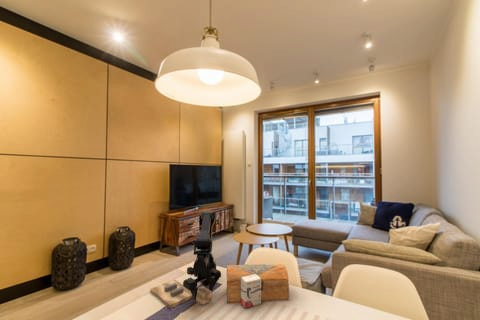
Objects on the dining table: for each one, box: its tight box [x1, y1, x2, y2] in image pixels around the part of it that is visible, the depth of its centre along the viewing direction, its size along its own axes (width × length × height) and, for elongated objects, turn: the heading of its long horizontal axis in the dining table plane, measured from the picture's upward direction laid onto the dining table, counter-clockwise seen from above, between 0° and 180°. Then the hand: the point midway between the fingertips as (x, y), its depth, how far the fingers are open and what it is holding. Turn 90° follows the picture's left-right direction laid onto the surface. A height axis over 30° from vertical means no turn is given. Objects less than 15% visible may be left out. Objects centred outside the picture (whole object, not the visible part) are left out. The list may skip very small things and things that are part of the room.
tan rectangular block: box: [195, 285, 213, 307], centre depth 111 cm, size 5×7×5 cm
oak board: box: [150, 279, 193, 309], centre depth 117 cm, size 14×20×2 cm
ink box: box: [240, 274, 262, 309], centre depth 109 cm, size 9×5×12 cm, turn 116°
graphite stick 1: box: [164, 283, 177, 292], centre depth 119 cm, size 6×2×2 cm, turn 136°
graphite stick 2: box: [170, 287, 183, 297], centre depth 114 cm, size 6×2×2 cm, turn 136°
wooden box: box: [226, 263, 290, 304], centre depth 117 cm, size 30×16×14 cm, turn 92°
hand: (202, 296), depth 111 cm, fingers open, 9 cm apart
